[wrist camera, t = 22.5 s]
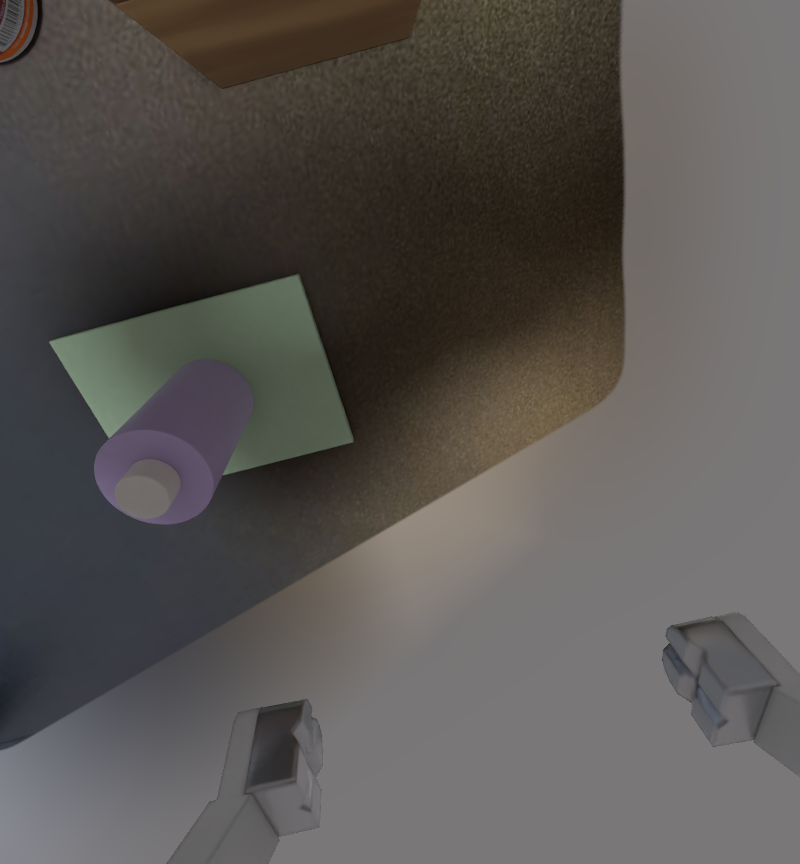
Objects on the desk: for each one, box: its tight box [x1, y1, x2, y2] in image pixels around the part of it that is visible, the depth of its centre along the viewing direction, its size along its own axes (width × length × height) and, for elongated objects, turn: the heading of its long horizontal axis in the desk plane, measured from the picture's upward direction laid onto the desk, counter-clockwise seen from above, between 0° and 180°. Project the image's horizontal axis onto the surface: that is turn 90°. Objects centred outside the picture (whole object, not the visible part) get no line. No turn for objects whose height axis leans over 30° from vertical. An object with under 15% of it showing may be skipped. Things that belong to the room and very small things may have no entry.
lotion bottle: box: [94, 360, 254, 524], centre depth 26 cm, size 5×5×12 cm
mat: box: [49, 273, 354, 475], centre depth 31 cm, size 16×12×1 cm
